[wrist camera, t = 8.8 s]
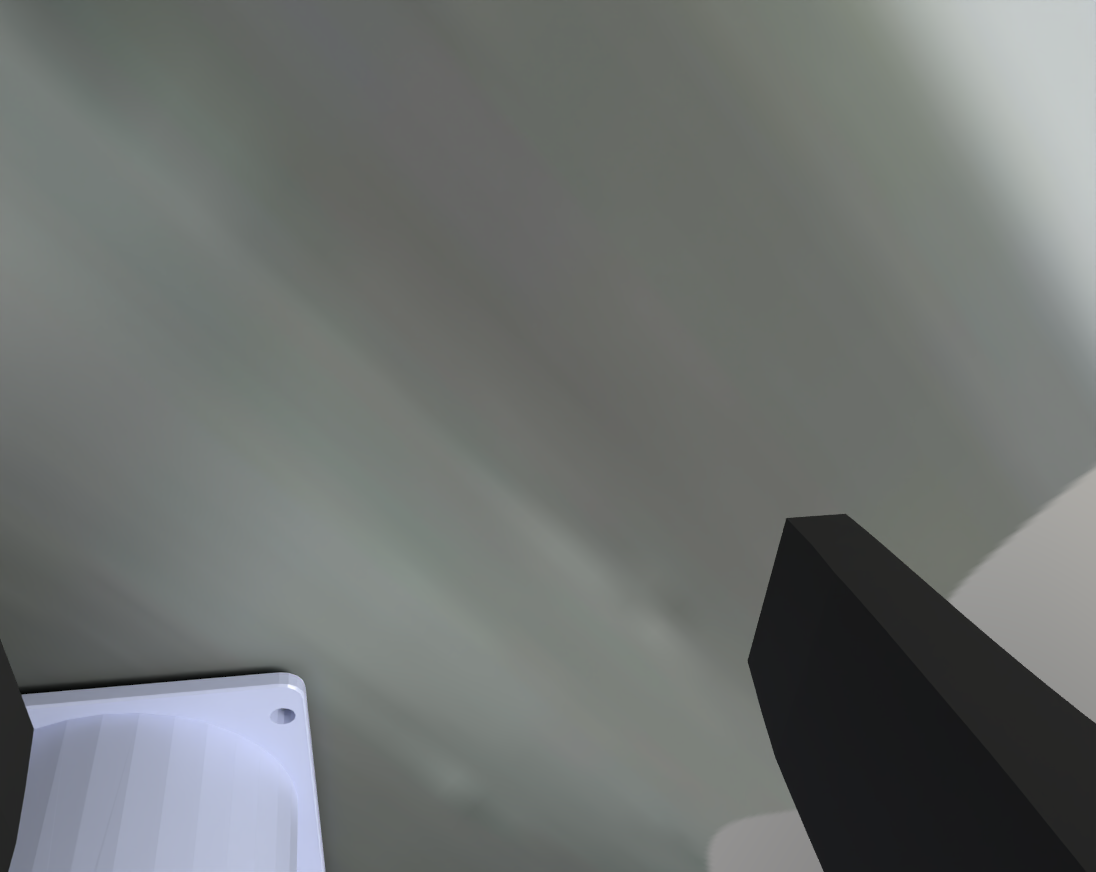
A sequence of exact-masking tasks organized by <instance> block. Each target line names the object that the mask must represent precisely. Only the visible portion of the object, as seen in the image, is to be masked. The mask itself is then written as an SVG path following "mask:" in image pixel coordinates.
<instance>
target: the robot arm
mask: <svg viewBox="0 0 1096 872" xmlns="http://www.w3.org/2000/svg"><path fill="white" fill-rule="evenodd" d="M748 664H749V668H750V671H751V675H752V679H753V682H754V686H755V689H756V693H757V697H758V700H759V704H760V708H761V711H762V715H763V718H764V722H765V725H766V728H767V731H768V735H769V738H770V741H771V745H772V748H773V751H774V754H775V758H776V760H777V763H778V765H779V767H780V770H781V772H782V775H783V777H784V780H785V782H786V784H787V787H788V789H789V791H790V794H791V796H792V799H793V801H794V803H795V806H796V808H797V810H798V813H799V815H800V817H801V820H802V822H803V824H804V827H805V829H806V831H807V834H808V836H809V839H810V841H811V843H812V845H813V848H814V850H815V853H816V855H817V857H818V859H819V862H820V864H821V866H822V869H823V871H824V872H1096V723H1094V722H1093V721H1092V720H1090V719H1089V718H1088V717H1086V716H1085V715H1084V714H1083V713H1081V712H1080V711H1079V710H1077V709H1076V708H1075V707H1074V706H1073V705H1071V704H1070V703H1069V702H1068V701H1066V700H1065V699H1064V698H1062V697H1061V696H1060V695H1059V694H1058V693H1056V692H1055V691H1054V690H1053V689H1051V688H1050V687H1049V686H1047V685H1046V684H1045V683H1044V682H1043V681H1041V680H1040V679H1039V678H1038V677H1036V676H1035V675H1034V674H1033V673H1032V672H1030V671H1029V670H1028V669H1027V668H1025V667H1024V666H1023V665H1022V664H1021V663H1019V662H1018V661H1017V660H1016V659H1015V658H1014V657H1012V656H1011V655H1010V654H1009V653H1008V652H1006V651H1005V650H1004V649H1003V648H1002V647H1000V646H999V645H998V644H997V643H996V642H994V641H993V640H992V639H991V638H989V636H987V635H986V634H985V633H984V632H983V631H981V630H980V629H979V628H978V627H977V626H976V625H974V624H973V623H972V622H971V621H970V620H969V619H967V618H966V617H965V616H964V615H963V614H962V613H960V612H959V611H958V610H957V609H956V608H955V607H953V606H952V605H951V604H950V603H949V602H948V601H947V600H946V599H944V598H943V597H942V596H941V595H940V594H939V593H937V592H936V591H935V590H934V589H933V588H932V587H931V586H929V585H928V584H927V583H926V582H925V581H924V580H923V579H921V578H920V577H919V576H918V575H917V574H916V573H915V572H913V571H912V570H911V569H910V568H909V567H908V566H906V565H905V564H904V563H903V562H902V561H901V560H900V559H898V558H897V557H896V556H895V555H894V554H893V553H892V552H890V551H889V550H888V549H887V548H886V547H885V546H884V545H882V544H881V543H880V542H879V541H878V540H877V539H875V538H874V537H873V536H872V535H871V534H869V533H868V532H867V531H866V530H865V529H864V528H862V527H861V526H860V525H859V524H857V523H856V522H855V521H854V520H853V519H851V518H850V517H849V516H848V515H846V514H838V515H824V516H810V517H796V518H786V522H785V525H784V529H783V533H782V536H781V540H780V544H779V547H778V551H777V555H776V558H775V562H774V566H773V570H772V573H771V577H770V581H769V584H768V588H767V592H766V595H765V599H764V603H763V606H762V610H761V614H760V617H759V621H758V625H757V628H756V632H755V636H754V639H753V643H752V647H751V650H750V654H749V658H748ZM281 708H285V709H281ZM0 872H326V871H325V862H324V853H323V843H322V834H321V825H320V816H319V806H318V797H317V788H316V779H315V769H314V760H313V751H312V742H311V733H310V723H309V714H308V705H307V696H306V686H305V684H304V681H303V680H302V679H301V678H300V677H298V676H297V675H294V674H291V673H286V672H277V673H265V674H254V675H242V676H230V677H219V678H207V679H196V680H184V681H172V682H161V683H149V684H138V685H126V686H114V687H103V688H91V689H80V690H68V691H56V692H45V693H33V694H22V695H21V693H20V690H19V688H18V685H17V682H16V680H15V677H14V674H13V672H12V669H11V666H10V664H9V661H8V658H7V656H6V653H5V650H4V648H3V645H2V642H1V640H0Z"/></svg>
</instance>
